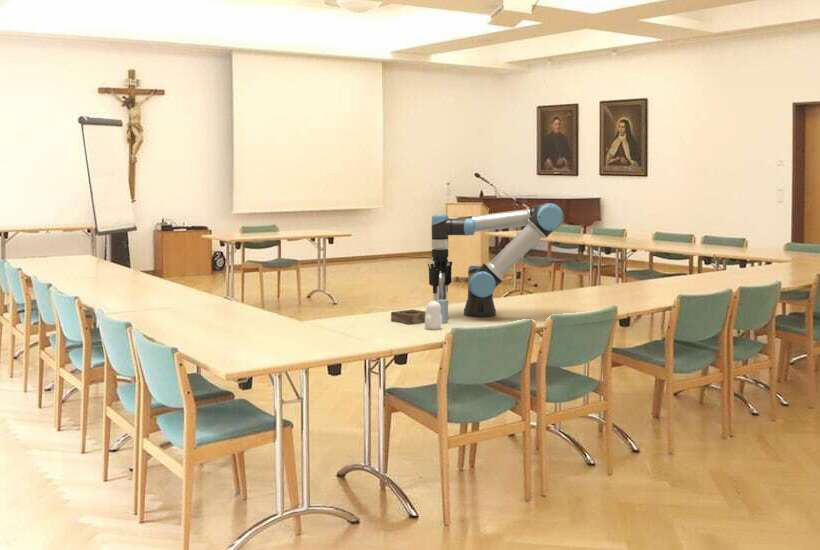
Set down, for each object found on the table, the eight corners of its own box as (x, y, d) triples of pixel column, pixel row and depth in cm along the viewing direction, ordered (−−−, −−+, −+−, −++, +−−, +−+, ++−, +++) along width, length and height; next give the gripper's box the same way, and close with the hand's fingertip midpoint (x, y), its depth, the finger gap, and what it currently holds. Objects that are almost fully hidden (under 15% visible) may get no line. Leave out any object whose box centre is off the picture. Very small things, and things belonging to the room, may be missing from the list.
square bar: (439, 321, 398) (440, 299, 397) (447, 322, 396) (448, 300, 395) (435, 322, 395) (436, 300, 394) (443, 323, 393) (444, 301, 392)
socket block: (412, 318, 407) (412, 309, 407) (432, 321, 398) (432, 312, 397) (391, 320, 399) (391, 312, 398) (410, 324, 389) (410, 315, 389)
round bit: (440, 306, 409) (440, 272, 408) (447, 307, 406) (447, 272, 404) (433, 307, 406) (433, 272, 405) (440, 308, 403) (440, 273, 401)
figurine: (427, 330, 376) (427, 302, 375) (422, 327, 383) (422, 299, 382) (443, 329, 378) (444, 301, 376) (438, 326, 385) (438, 299, 384)
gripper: (447, 246, 412) (448, 297, 415) (420, 249, 400) (420, 301, 403) (459, 247, 406) (459, 298, 409) (431, 250, 395) (432, 302, 397)
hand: (440, 299), depth 406 cm, fingers closed on round bit, 4 cm apart
